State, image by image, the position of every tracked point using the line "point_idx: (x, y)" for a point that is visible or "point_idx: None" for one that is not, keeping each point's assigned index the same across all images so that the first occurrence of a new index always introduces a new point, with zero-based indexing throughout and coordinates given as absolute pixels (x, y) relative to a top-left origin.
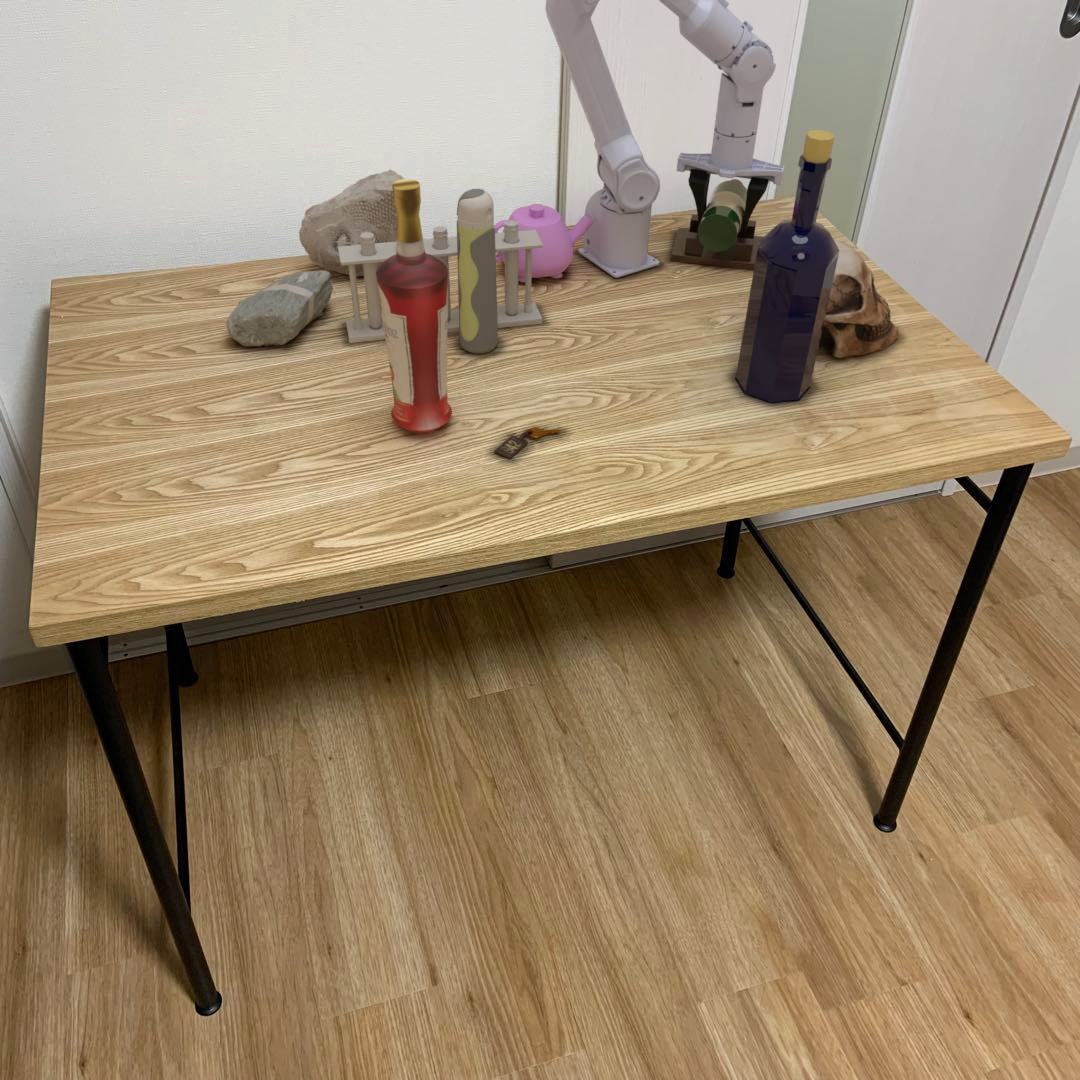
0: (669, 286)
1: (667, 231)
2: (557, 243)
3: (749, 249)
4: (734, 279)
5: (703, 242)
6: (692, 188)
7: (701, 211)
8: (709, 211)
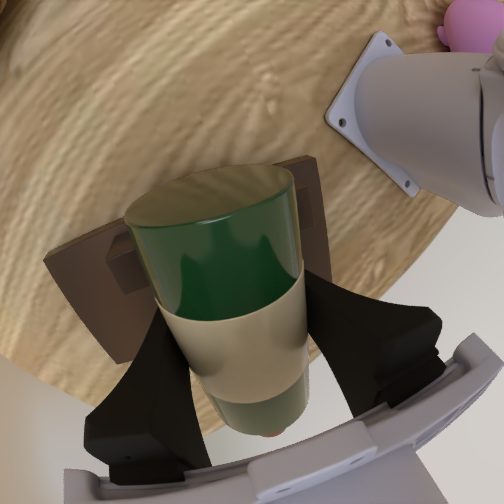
0: (264, 30)
1: (344, 277)
2: (490, 9)
3: (113, 249)
4: (121, 150)
5: (245, 165)
6: (406, 309)
7: (315, 285)
8: (287, 250)
